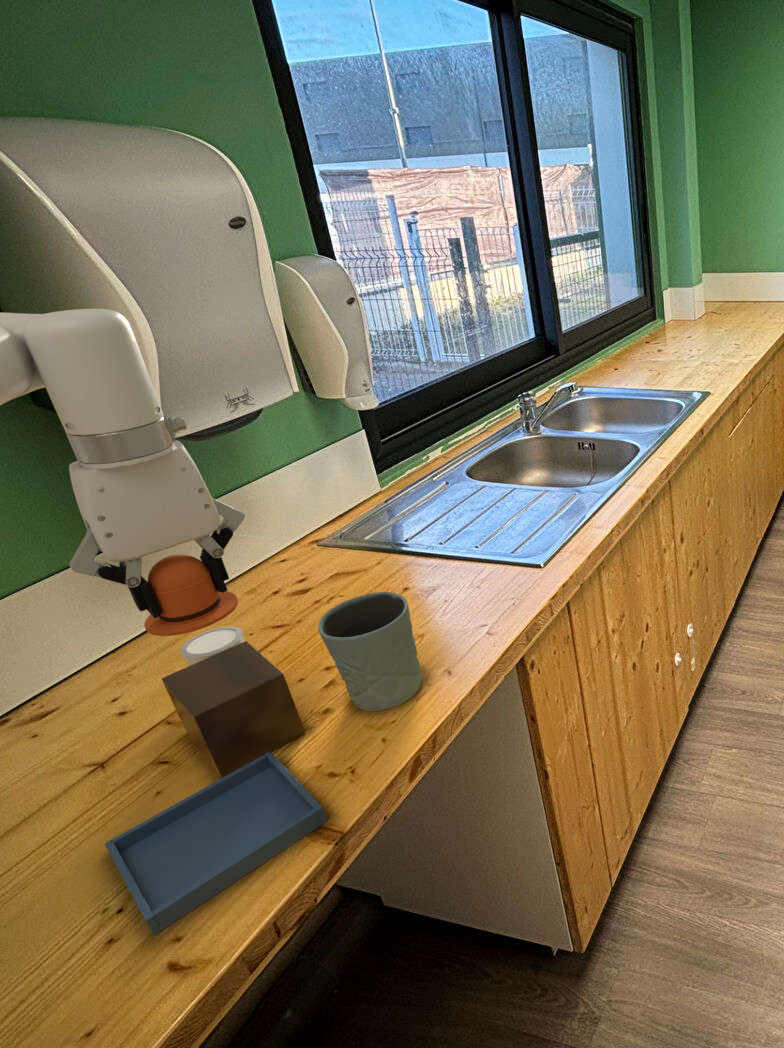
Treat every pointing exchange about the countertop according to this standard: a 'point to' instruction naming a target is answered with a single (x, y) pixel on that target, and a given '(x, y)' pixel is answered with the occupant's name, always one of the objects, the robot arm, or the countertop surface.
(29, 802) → the countertop surface
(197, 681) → the stand block
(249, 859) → the tray
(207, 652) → the shot glass
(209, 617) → the hat
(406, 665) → the grey-green cup
